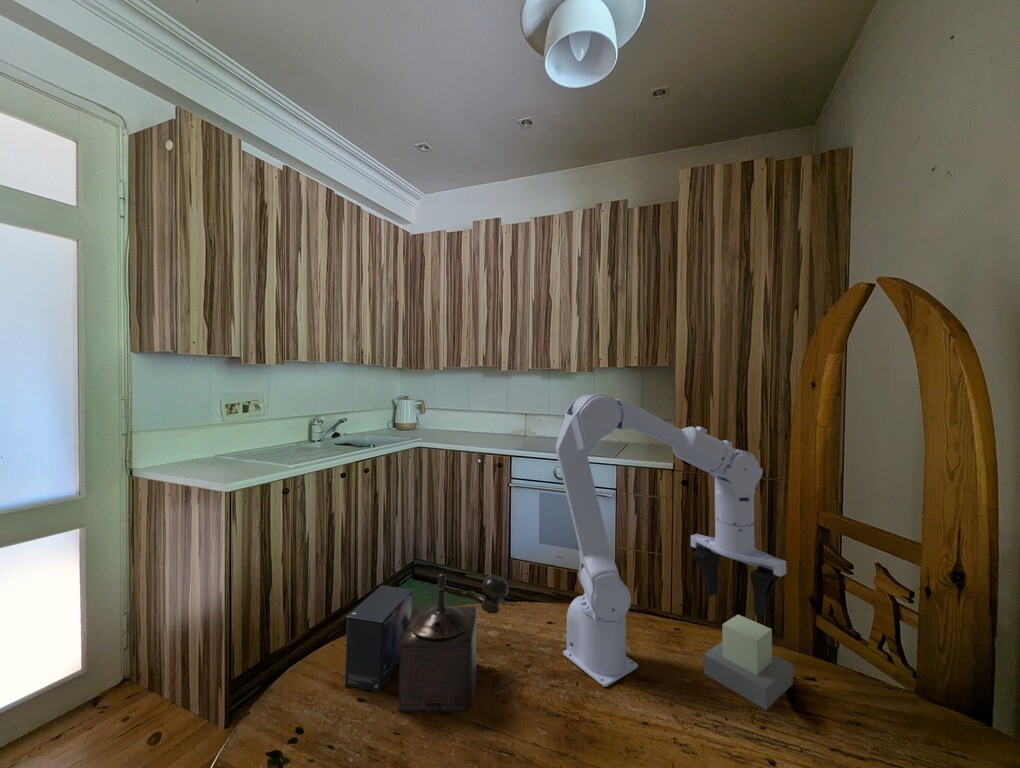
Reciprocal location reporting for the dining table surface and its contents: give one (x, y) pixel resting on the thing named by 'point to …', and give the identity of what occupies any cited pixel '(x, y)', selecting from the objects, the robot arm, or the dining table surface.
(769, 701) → the gray plinth
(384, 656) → the small box
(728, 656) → the green cube
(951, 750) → the dining table surface
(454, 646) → the manual coffee grinder
